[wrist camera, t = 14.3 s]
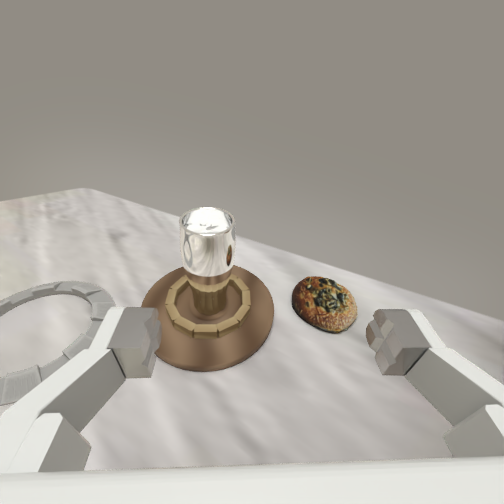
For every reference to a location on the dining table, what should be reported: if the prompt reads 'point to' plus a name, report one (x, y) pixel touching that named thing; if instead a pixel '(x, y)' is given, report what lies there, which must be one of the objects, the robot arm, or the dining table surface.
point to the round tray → (211, 322)
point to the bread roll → (324, 304)
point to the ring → (28, 379)
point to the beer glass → (208, 259)
